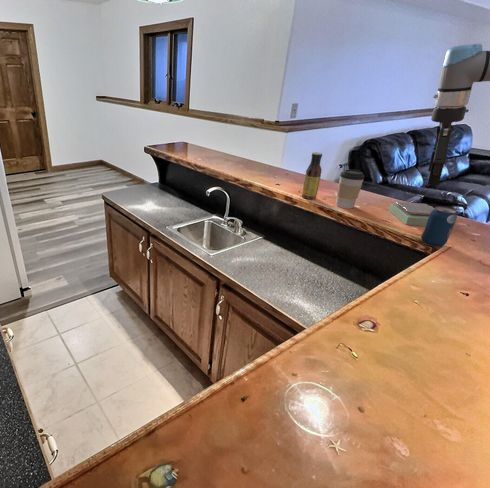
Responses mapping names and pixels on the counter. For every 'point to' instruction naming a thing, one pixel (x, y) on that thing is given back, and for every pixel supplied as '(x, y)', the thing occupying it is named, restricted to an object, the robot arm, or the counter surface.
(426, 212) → the scale pan
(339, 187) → the coffee cup
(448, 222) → the soda can
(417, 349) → the counter surface
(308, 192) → the sauce bottle
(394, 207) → the scale
